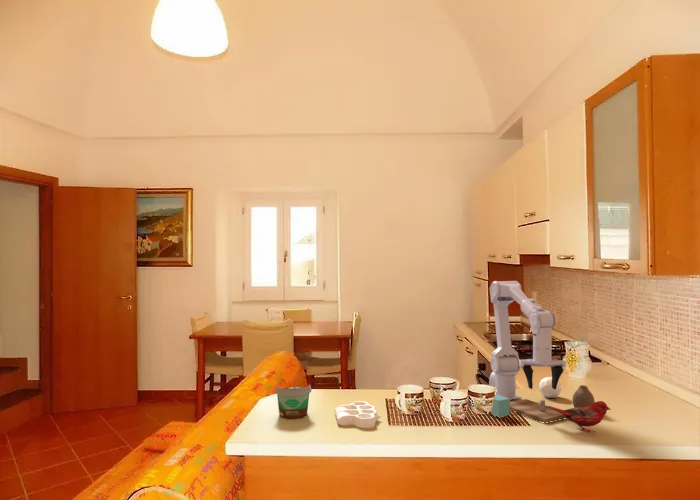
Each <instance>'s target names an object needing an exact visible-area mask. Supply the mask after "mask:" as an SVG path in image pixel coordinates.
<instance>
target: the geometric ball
mask: <svg viewBox="0 0 700 500" xmlns="http://www.w3.org/2000/svg"><path fill="white" fill-rule="evenodd" d="M538 388H539V390H538V391H540V393H541V394H542V396H543V397H546V398H547V399H550V398H551V399H554V398H556V397H558V396H560V394H561V391H562V386H561V382H559V381H558V383H557V387H556V389H553V388H552V376H546V377H544V378H542V379H541V380H540V381H539V384H538Z"/></svg>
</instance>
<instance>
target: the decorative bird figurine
mask: <svg viewBox="0 0 700 500" xmlns="http://www.w3.org/2000/svg"><path fill="white" fill-rule="evenodd" d="M547 406H548V407H550V408H552V409H554V410H556V411H558V412H560V413H562V414H563V415H564V416H565V417H566V418H567V419H566V420H569V421H570V422H572V423H574V424H576V425H577V426H578V428H576V430H580V431H582V432H585V433H586V432H587V433H595V432H596V431H594V430H590V429H588V428H589V427H593V426H596V425H598V424H600V423H601V422H602V421H603V420H604V417H605V415H607V411H611V408H610V407H609V406H608V405H607V403H606V402H605V401H603V400H599V401H595V402H594V403H593V404H591V405H590V406H586V407H577V408H574V407H572V408H568V409H561V408H558V407H554V406H550V405H547ZM585 427H587V428H585Z"/></svg>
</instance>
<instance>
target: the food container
mask: <svg viewBox="0 0 700 500" xmlns="http://www.w3.org/2000/svg"><path fill="white" fill-rule="evenodd" d="M274 390H275V391H274V393H275V394H276V395H277V406H278V415H279V417H280V418H281V417H282V419H285V420H300V419H304V418H305V416H306V417H307V416H308V409H309V408H308V407H309V399H310V393H311V392H312V387H311V384H310V383H309V385H308V386H289V387H284V388H283V387H282V388H281V387H278V386H276V388H275V389H274Z"/></svg>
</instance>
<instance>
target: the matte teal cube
mask: <svg viewBox="0 0 700 500" xmlns="http://www.w3.org/2000/svg"><path fill="white" fill-rule="evenodd" d="M510 402H511V400H510V399H509V398H506V397H504V396H501V395H495V398H494V400H493V408H492V411H491V414H493V415H495V416H497V417H502V416H507V415H510V413H511V411H510Z"/></svg>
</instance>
